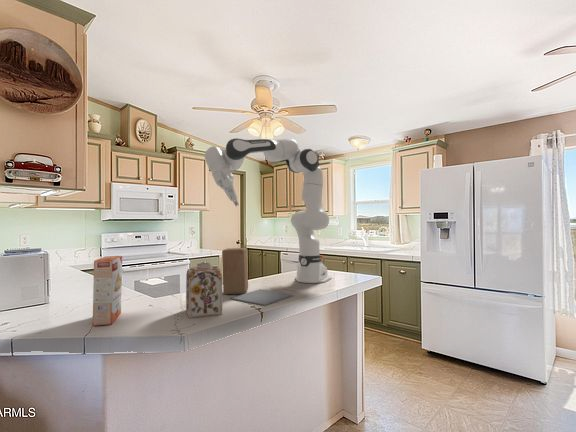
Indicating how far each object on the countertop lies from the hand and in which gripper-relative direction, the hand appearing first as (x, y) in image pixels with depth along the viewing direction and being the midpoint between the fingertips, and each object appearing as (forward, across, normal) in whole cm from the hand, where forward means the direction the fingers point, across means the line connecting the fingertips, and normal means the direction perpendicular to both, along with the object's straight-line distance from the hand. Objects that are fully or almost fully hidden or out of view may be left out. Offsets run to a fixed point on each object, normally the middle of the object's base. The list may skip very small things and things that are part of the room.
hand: (236, 203), depth 148 cm
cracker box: (+26, -29, +56) cm, 69 cm away
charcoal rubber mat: (+44, -2, +8) cm, 45 cm away
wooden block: (+37, +7, +18) cm, 41 cm away
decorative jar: (+39, -22, +29) cm, 53 cm away
